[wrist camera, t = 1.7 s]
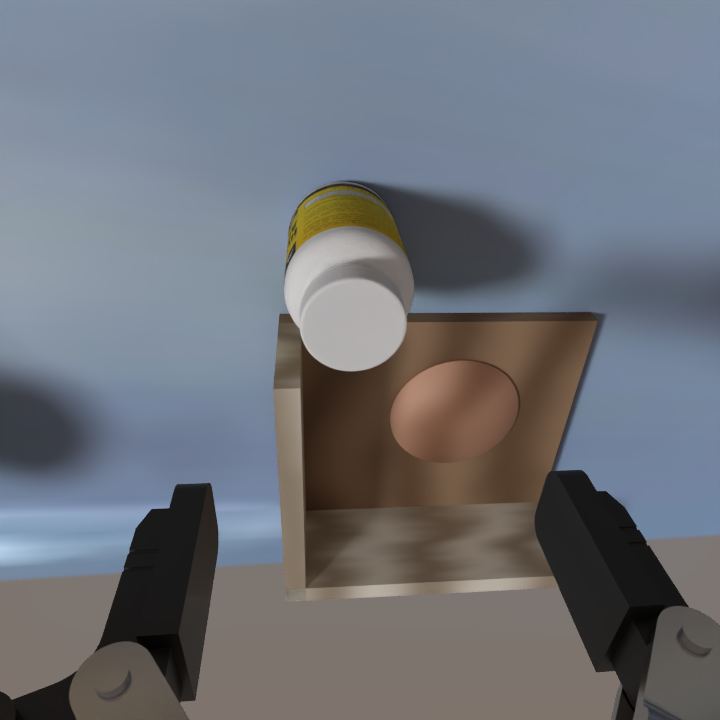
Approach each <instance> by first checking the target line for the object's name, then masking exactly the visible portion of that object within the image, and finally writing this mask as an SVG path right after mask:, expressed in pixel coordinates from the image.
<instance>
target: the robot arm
mask: <svg viewBox="0 0 720 720" xmlns="http://www.w3.org/2000/svg"><path fill="white" fill-rule="evenodd" d="M534 523H535V532H536V536H537V539H538V541H539V544H540V546H541V548H542V550H543V553H544V555H545V557H546V560H547V562H548V564H549V566H550V569H551V571H552V573H553V575H554V578H555V580H556V582H557V584H558V587H559V589H560V591H561V594H562V596H563V598H564V600H565V603H566V605H567V607H568V609H569V612H570V614H571V616H572V618H573V621H574V623H575V625H576V627H577V630H578V632H579V634H580V637H581V639H582V641H583V643H584V646H585V648H586V650H587V653H588V655H589V657H590V659H591V661H592V664H593V666H594V668H595V670H596V672H605V671H616V674H617V676H618V678H619V680H620V682H621V684H620V686H619V688H618V691H617V695H616V699H615V703H614V708H613V713H612V717H611V720H720V625H719V624H718V623H717V622H715V621H714V620H713V619H712V618H710V617H709V616H707V615H705V614H704V613H702V612H700V611H698V610H695V609H693V608H689V606H688V605H687V604H686V602H685V601H684V599H683V598H682V596H681V595H680V593H679V592H678V590H677V588H676V587H675V585H674V584H673V582H672V581H671V579H670V577H669V576H668V574H667V573H666V571H665V570H664V568H663V566H662V565H661V563H660V562H659V560H658V559H657V557H656V556H655V554H654V552H653V551H652V550H651V548H650V546H647V544H646V540H645V538H644V537H643V535H642V534H641V532H640V531H639V530H637V528H636V527H637V526H636V524H635V523H634V521H633V520H632V518H631V517H630V515H629V513H628V512H627V510H626V509H625V507H624V506H622V505H621V504H620V503H619V502H618V501H617V500H615V499H614V498H613V497H612V496H611V495H610V494H609V493H607V492H606V491H596V489H595V487H594V486H593V484H592V482H591V481H590V479H589V478H588V476H587V475H586V473H585V472H584V471H582V470H569V471H550V472H549V473H548V474H547V476H546V479H545V483H544V486H543V489H542V493H541V496H540V499H539V502H538V506H537V509H536V512H535V519H534ZM129 550H130V552H129V554H128V556H127V559H126V562H125V565H124V572H122V575H121V578H120V581H119V584H118V588H117V591H116V594H115V597H114V600H113V604H112V607H111V610H110V613H109V617H108V620H107V623H106V626H105V629H104V632H103V636H102V638H101V641H100V643H99V645H98V647H97V649H96V651H95V652H94V653H93V654H92V655H91V656H90V657H89V658H87V660H85V662H84V663H83V664H82V665H81V666H80V668H79V669H78V670H77V671H76V672H74V673H73V674H72V675H70V676H69V677H67V678H65V679H63V680H62V681H60V682H57V683H55V684H53V685H50V686H48V687H45V688H42V689H39V690H37V691H34V692H32V693H29V694H27V695H24V696H21V697H19V698H16V699H13V700H11V699H10V697H9V696H8V695H6V694H5V693H2V692H0V720H189V718H188V717H187V715H186V713H185V711H184V710H183V708H182V706H181V705H180V702H181V701H193V700H194V701H195V699H196V692H197V686H198V679H199V673H200V666H201V659H202V653H203V646H204V639H205V633H206V626H207V620H208V613H209V606H210V599H211V593H212V587H213V579H214V573H215V567H216V560H217V553H218V525H217V518H216V512H215V505H214V499H213V492H212V487H211V484H210V483H201V484H177V485H176V487H175V489H174V492H173V496H172V500H171V504H170V508H167V509H151V511H150V512H149V513H148V514H147V515H146V517H145V518H144V519H143V520H142V522H141V523H140V524H139V525H138V527H137V528H136V530H135V533H134V537H133V540H132V543H131V546H130V549H129Z"/></svg>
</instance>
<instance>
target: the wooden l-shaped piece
mask: <svg viewBox="0 0 720 720" xmlns="http://www.w3.org/2000/svg"><path fill="white" fill-rule="evenodd" d="M597 322H598V320H597V319H596V318H595V317H594V316H593V315H592V314H591V313H427V314H408V315H407V330H406V334H405V337H404V340H403V342H402V344H401V345H400V347H399V348H398V350H397V351H396V352H395V353H394V354H393V355H392V356H391V357H390V358H389V359H388V360H386V361H385V362H383V363H381V364H380V365H378V366H376V367H373V368H370V369H366V370H361V371H341V370H337V369H333V368H330V367H328V366H326V365H324V364H322V363H321V362H319V361H318V360H317V359H315V358H314V357H313V356H312V355H311V354H310V353H309V351H308V350H307V348H306V347H305V345H304V343H303V340H302V337H301V333H300V329H299V328H298V326H297V325H296V324H295V322H294V321H293V319H292V317H291V315H290V314H280V316H279V328H278V340H277V352H276V363H275V375H274V387H273V391H274V408H275V424H276V441H277V458H278V474H279V491H280V508H281V524H282V541H283V558H284V574H285V591H286V601H306V600H325V599H344V598H345V599H346V598H365V597H381V596H382V597H384V596H403V595H422V594H441V593H460V592H479V591H499V590H516V589H537V588H556V587H558V584H557V582H556V580H555V578H554V575H553V573H552V571H551V569H550V566H549V564H548V562H547V560H546V557H545V555H544V553H543V550H542V548H541V546H540V544H539V541H538V539H537V536H536V532H535V523H534V519H535V512H536V509H537V506H538V502H539V499H540V496H541V493H542V489H543V486H544V483H545V479H546V476H547V474H548V473H549V472H550V471H551V469H552V466H553V463H554V460H555V457H556V453H557V450H558V447H559V444H560V441H561V437H562V434H563V431H564V428H565V425H566V421H567V418H568V415H569V412H570V409H571V405H572V402H573V399H574V396H575V393H576V390H577V386H578V383H579V380H580V377H581V374H582V370H583V367H584V364H585V361H586V358H587V354H588V351H589V348H590V345H591V342H592V338H593V335H594V332H595V329H596V326H597Z"/></svg>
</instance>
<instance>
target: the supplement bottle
mask: <svg viewBox="0 0 720 720" xmlns="http://www.w3.org/2000/svg"><path fill="white" fill-rule="evenodd" d="M284 294H285V301H286V305H287V308H288V311H289V313H290V315H291V317H292V319H293V321H294V322H295V324H296V325H297V326H298V328H299V329H300V333H301V337H302V340H303V343H304V345H305V347H306V348H307V350H308V351H309V353H310V354H311V355H312V356H313V357H314V358H315V359H317V360H318V361H319V362H321V363H322V364H324V365H326V366H328V367H330V368H333V369H337V370H341V371H361V370H366V369H370V368H373V367H376V366H378V365H380V364H381V363H383V362H385V361H386V360H388V359H389V358H390V357H391V356H392V355H393V354H394V353H395V352H396V351H397V350H398V348H399V347H400V345H401V344H402V342H403V340H404V337H405V334H406V330H407V315H408V313H409V311H410V308H411V305H412V302H413V297H414V279H413V274H412V270H411V267H410V263H409V260H408V258H407V255H406V252H405V249H404V246H403V244H402V241H401V238H400V235H399V233H398V230H397V227H396V224H395V221H394V218H393V216H392V214H391V212H390V210H389V208H388V206H387V205H386V203H385V202H384V201H383V200H382V198H381V197H380V196H379V195H378V194H376V193H375V192H374V191H372V190H371V189H369V188H367V187H365V186H363V185H360V184H357V183H353V182H344V181H343V182H332V183H328V184H325V185H323V186H320V187H318V188H316V189H314V190H313V191H311V192H310V193H309V194H307V195H306V196H305V197H304V198H303V199H302V200H301V201H300V203H299V204H298V206H297V207H296V209H295V211H294V213H293V216H292V219H291V222H290V227H289V232H288V246H287V259H286V269H285V280H284Z"/></svg>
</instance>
